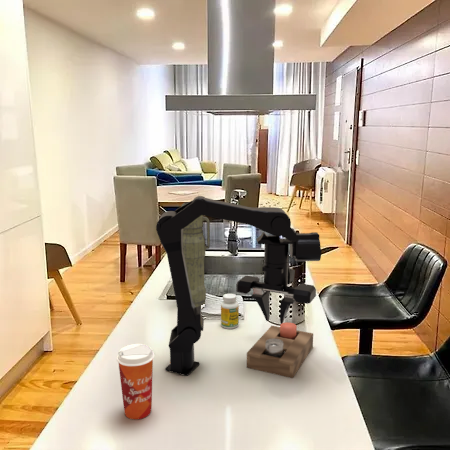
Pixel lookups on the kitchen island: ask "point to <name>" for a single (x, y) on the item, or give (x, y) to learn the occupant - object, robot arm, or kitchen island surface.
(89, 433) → the kitchen island surface
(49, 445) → the kitchen island surface
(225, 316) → the supplement bottle
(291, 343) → the press box
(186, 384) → the kitchen island surface
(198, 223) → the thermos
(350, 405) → the kitchen island surface
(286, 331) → the pink round plug
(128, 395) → the paper cup
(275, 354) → the grey plunger
